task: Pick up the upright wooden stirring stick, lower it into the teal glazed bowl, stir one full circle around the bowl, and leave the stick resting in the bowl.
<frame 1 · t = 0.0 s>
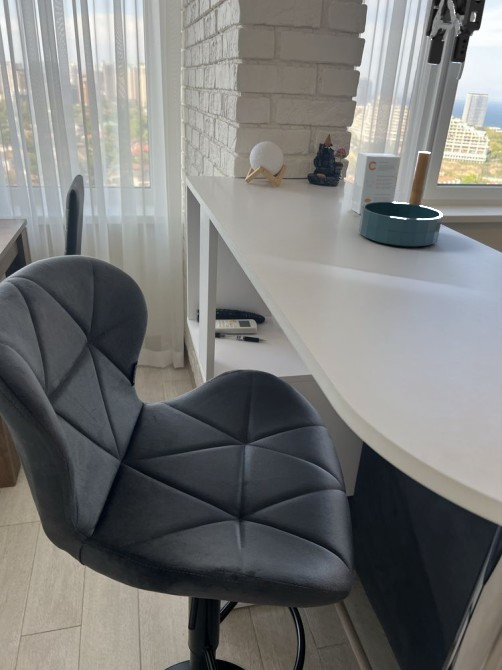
hand: (444, 63, 88), 31 cm above the table, tool pointing down, fingers open, 8 cm apart
bowl: (396, 238, 100), on the table
small box: (370, 212, 120), on the table
wooden stick: (410, 223, 111), on the table
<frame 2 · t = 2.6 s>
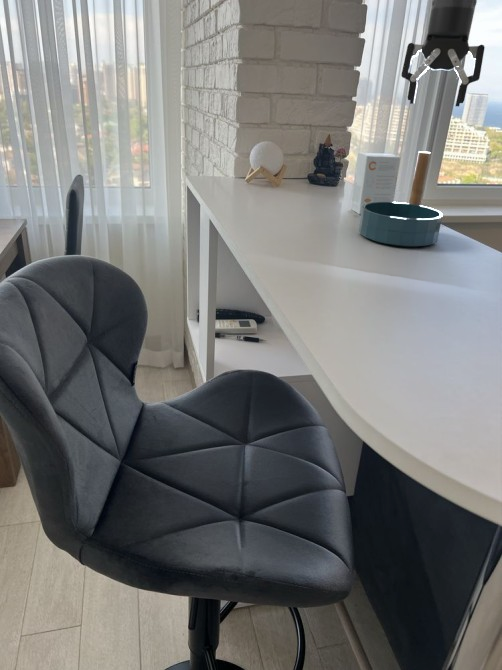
hand: (434, 105, 99), 24 cm above the table, tool pointing down, fingers open, 8 cm apart
nothing on the table moved.
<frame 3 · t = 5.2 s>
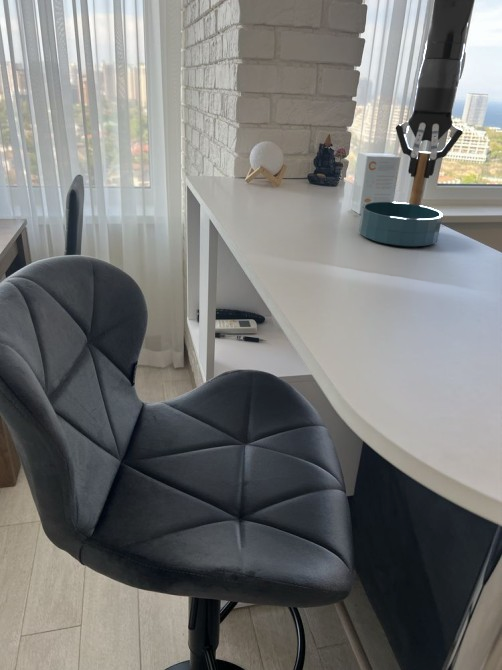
hand: (419, 176, 107), 10 cm above the table, tool pointing down, fingers closed on wooden stick, 2 cm apart
wooden stick: (410, 223, 111), on the table, touching gripper
everything else where it was.
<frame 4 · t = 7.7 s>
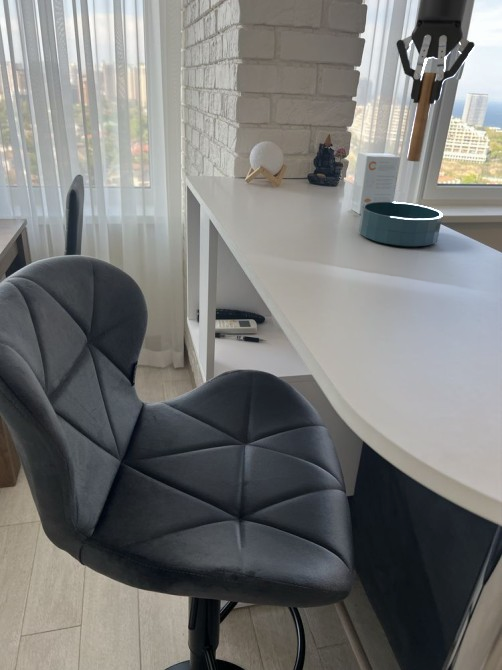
hand: (423, 102, 92), 24 cm above the table, tool pointing down, fingers closed on wooden stick, 2 cm apart
wooden stick: (413, 160, 97), point 14 cm above the table, touching gripper
everything else where it was.
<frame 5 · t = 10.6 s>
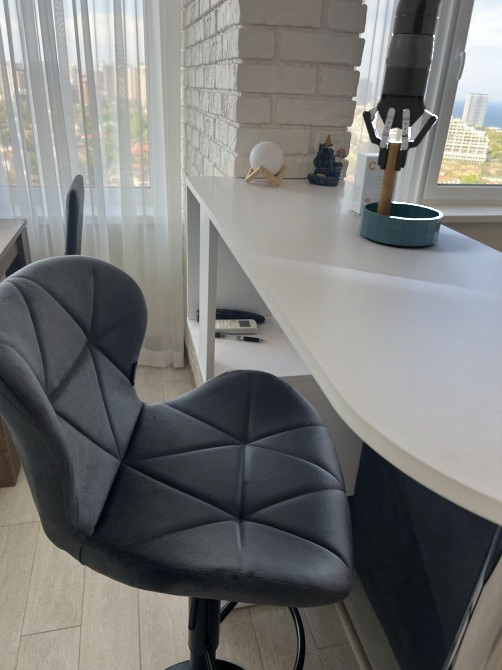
hand: (390, 169, 95), 13 cm above the table, tool pointing down, fingers closed on wooden stick, 2 cm apart
wooden stick: (381, 222, 100), point 3 cm above the table, touching gripper
everything else where it was.
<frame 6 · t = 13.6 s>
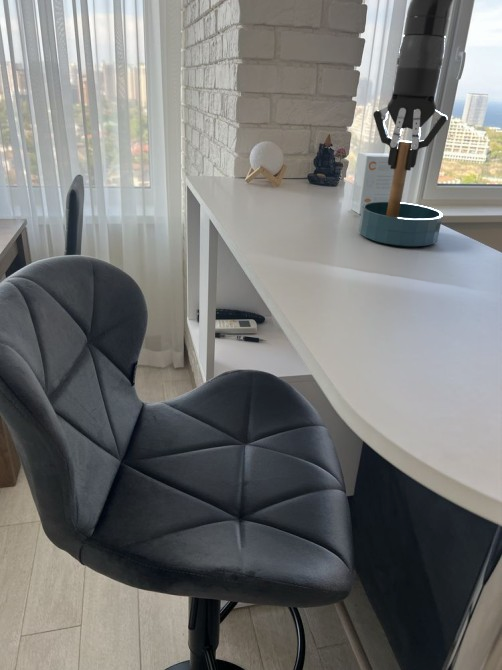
hand: (400, 168, 96), 13 cm above the table, tool pointing down, fingers closed on wooden stick, 2 cm apart
wooden stick: (391, 221, 101), point 3 cm above the table, touching gripper
everything else where it was.
when the fingers open (11 cm above the table, at t = 15.9 s): wooden stick stays where it is, resting on bowl.
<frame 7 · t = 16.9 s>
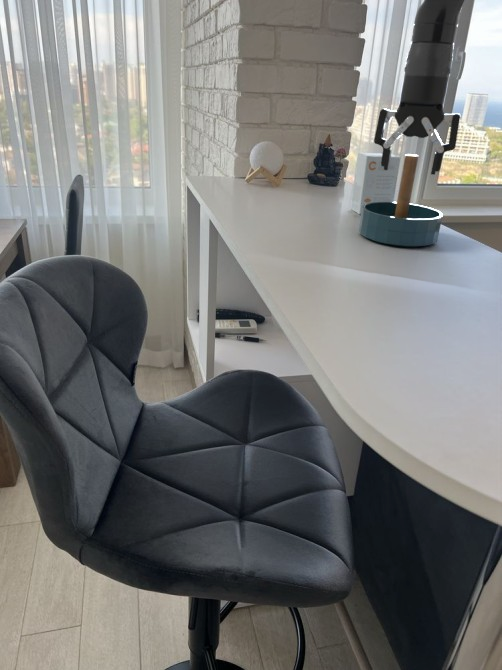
hand: (409, 171, 94), 13 cm above the table, tool pointing down, fingers open, 8 cm apart
wooden stick: (397, 235, 100), point 1 cm above the table, touching bowl
everything else where it was.
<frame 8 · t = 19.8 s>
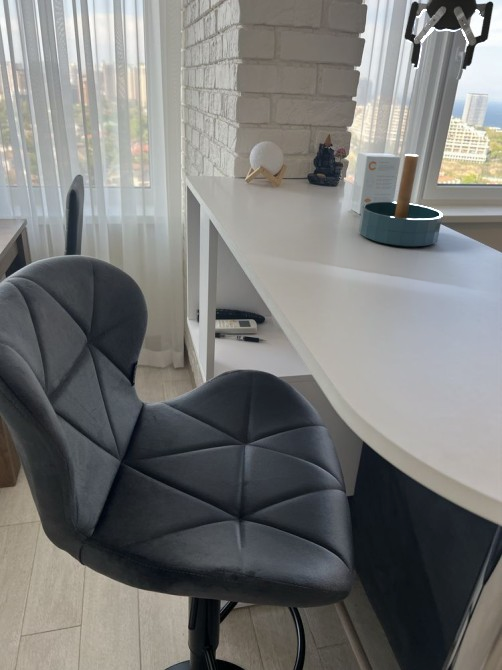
hand: (439, 68, 94), 30 cm above the table, tool pointing down, fingers open, 8 cm apart
nothing on the table moved.
at the end: wooden stick inside the target area in the bowl (0.0 cm from its centre), point 0.6 cm above the bowl's base; the gripper is holding nothing; wooden stick moved 14.1 cm from its start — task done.
